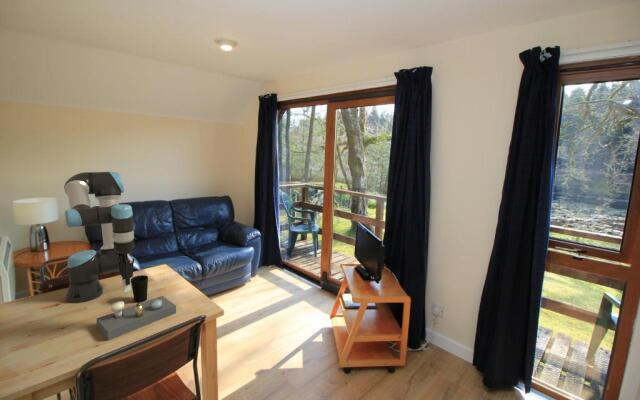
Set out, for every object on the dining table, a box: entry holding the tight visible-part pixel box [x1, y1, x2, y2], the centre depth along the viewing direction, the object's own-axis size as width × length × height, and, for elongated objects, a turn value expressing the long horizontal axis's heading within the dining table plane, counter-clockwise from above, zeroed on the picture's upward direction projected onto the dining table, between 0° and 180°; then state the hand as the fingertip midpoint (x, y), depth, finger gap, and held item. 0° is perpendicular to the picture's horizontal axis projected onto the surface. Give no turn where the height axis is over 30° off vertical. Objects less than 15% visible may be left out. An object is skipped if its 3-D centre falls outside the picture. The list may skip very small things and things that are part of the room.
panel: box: [96, 295, 177, 341], centre depth 138 cm, size 14×28×4 cm, turn 142°
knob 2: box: [150, 300, 162, 310], centre depth 141 cm, size 5×5×6 cm
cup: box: [130, 274, 149, 304], centre depth 154 cm, size 8×8×12 cm
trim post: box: [134, 302, 143, 318], centre depth 134 cm, size 3×3×6 cm
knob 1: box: [110, 301, 125, 319], centre depth 133 cm, size 5×5×6 cm
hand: (127, 290), depth 134 cm, fingers closed
